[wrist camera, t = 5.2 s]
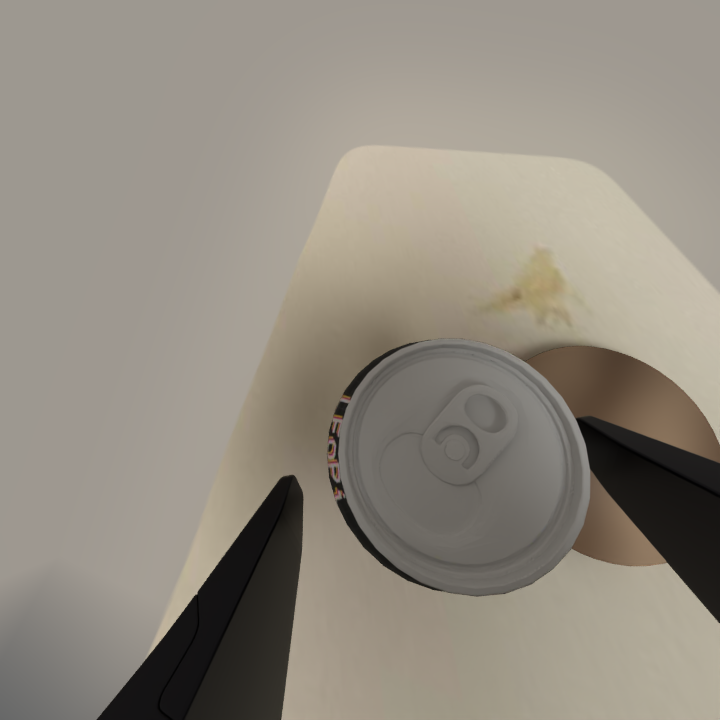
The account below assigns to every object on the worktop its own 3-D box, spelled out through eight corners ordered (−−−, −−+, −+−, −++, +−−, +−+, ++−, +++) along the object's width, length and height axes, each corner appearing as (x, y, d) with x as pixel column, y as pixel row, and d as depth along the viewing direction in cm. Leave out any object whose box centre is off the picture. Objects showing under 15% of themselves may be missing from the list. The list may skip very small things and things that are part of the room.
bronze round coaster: (698, 375, 16) (717, 370, 15) (712, 594, 13) (737, 606, 12) (498, 335, 18) (504, 329, 17) (471, 515, 15) (476, 519, 14)
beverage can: (482, 446, 16) (703, 440, 5) (419, 526, 15) (501, 761, 4) (406, 383, 18) (431, 265, 6) (346, 451, 17) (248, 457, 5)
